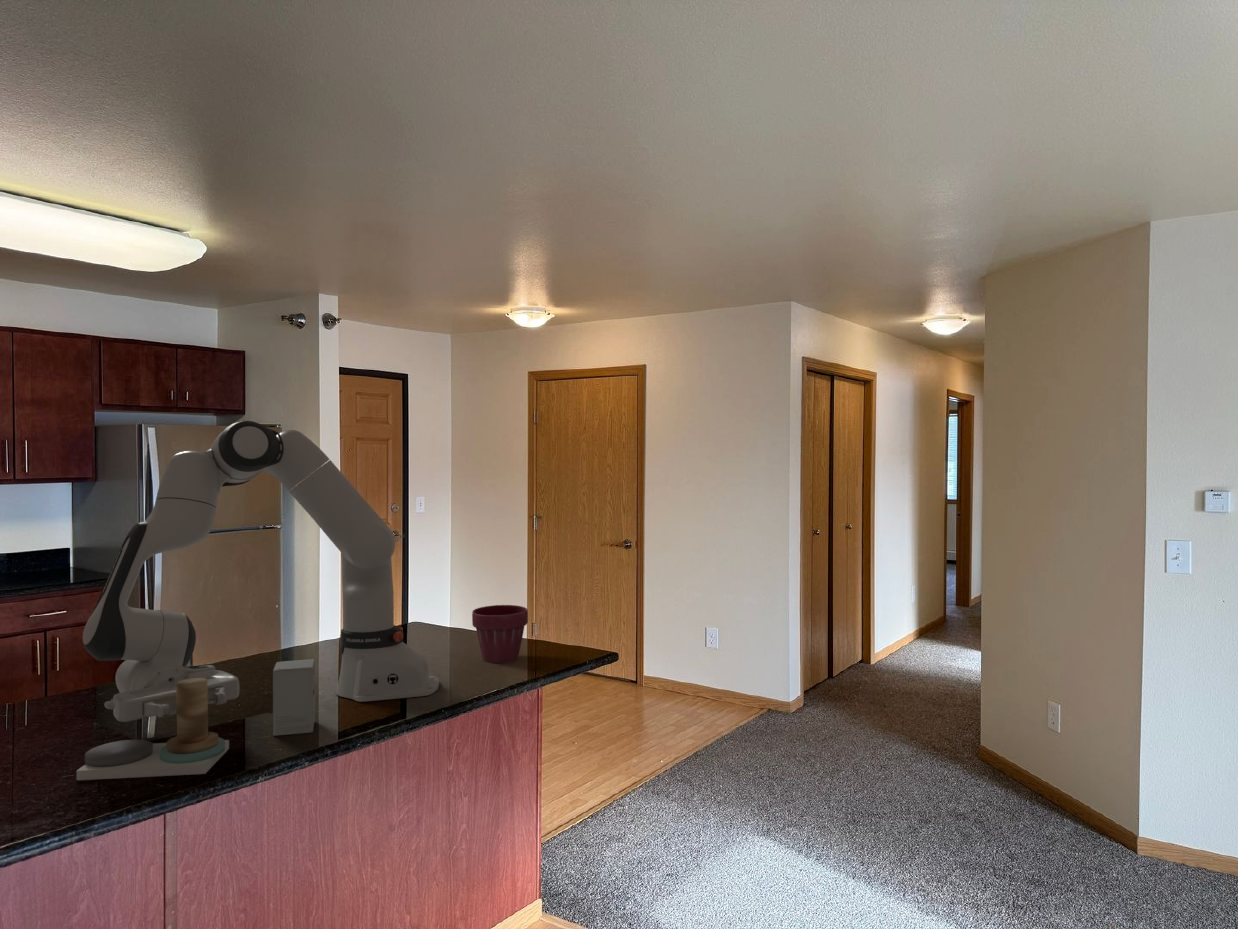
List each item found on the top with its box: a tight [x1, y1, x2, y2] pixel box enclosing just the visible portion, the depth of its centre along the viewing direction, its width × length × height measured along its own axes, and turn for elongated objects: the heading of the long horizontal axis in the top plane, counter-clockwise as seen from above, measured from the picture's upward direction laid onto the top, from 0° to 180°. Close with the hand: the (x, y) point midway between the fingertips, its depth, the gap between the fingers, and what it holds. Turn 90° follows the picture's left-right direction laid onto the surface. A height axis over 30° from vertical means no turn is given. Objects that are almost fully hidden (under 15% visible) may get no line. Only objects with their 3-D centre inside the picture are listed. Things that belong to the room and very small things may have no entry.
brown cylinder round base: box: [166, 678, 219, 754], centre depth 146 cm, size 8×8×11 cm
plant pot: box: [471, 604, 529, 664], centre depth 218 cm, size 14×14×13 cm
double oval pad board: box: [76, 736, 230, 781], centre depth 145 cm, size 22×12×3 cm, turn 97°
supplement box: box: [272, 658, 316, 737], centre depth 164 cm, size 7×7×13 cm
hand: (194, 705), depth 145 cm, fingers open, 8 cm apart
